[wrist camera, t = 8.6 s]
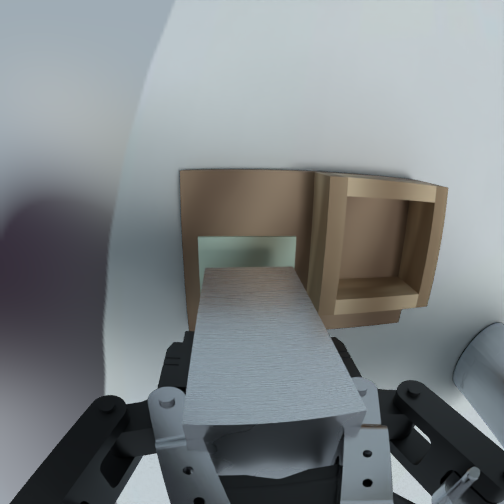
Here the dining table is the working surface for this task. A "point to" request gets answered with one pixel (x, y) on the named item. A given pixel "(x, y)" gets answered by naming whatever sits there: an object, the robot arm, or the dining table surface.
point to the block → (265, 376)
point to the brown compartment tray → (317, 236)
